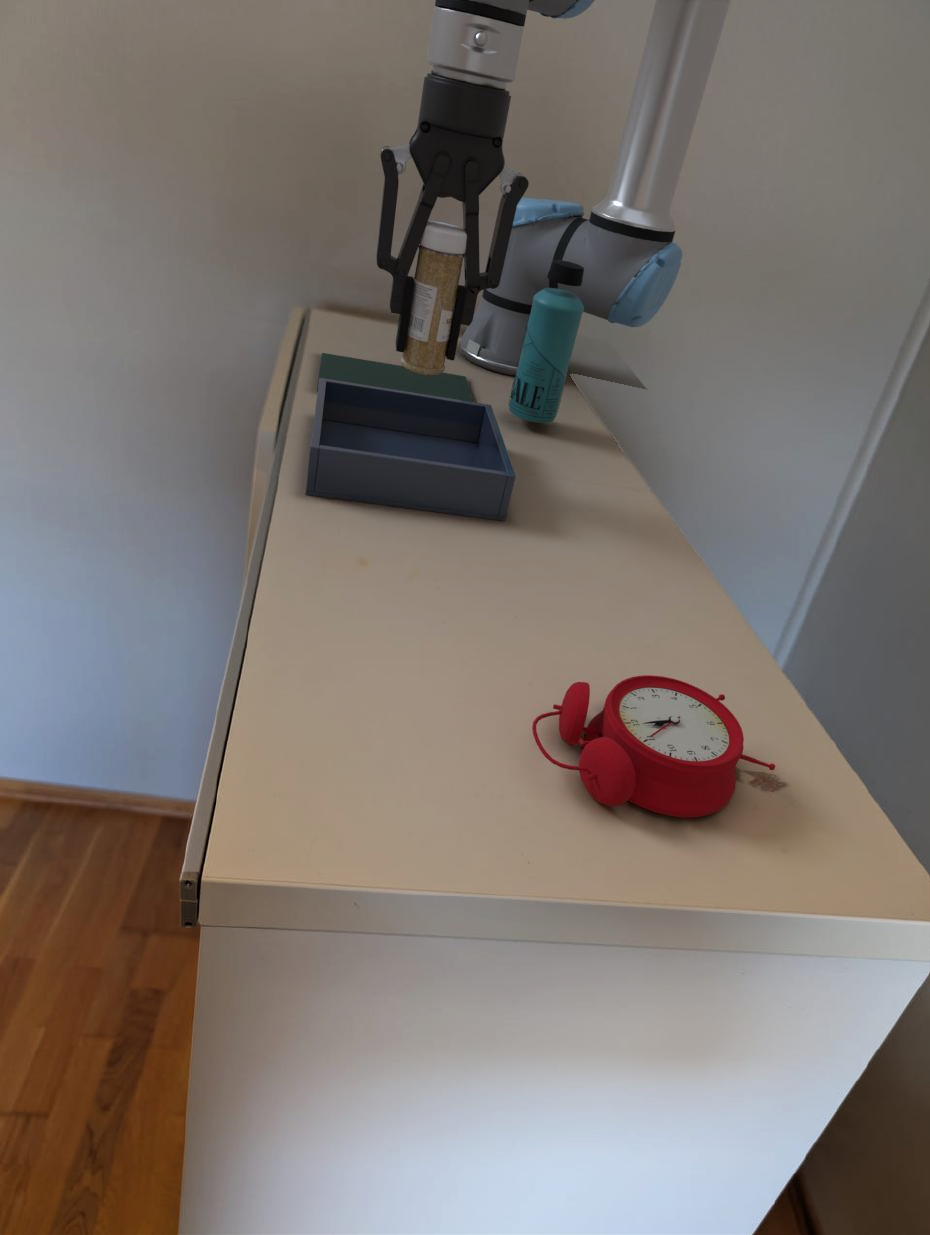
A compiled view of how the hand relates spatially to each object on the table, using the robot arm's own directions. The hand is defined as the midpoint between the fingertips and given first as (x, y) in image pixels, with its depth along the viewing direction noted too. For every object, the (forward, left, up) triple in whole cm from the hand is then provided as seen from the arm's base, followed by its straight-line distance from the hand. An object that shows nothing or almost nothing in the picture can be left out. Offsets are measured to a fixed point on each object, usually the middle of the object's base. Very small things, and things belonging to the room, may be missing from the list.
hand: (424, 351), depth 85 cm
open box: (0, 0, -12) cm, 12 cm away
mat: (0, -26, -12) cm, 29 cm away
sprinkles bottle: (0, 0, -2) cm, 2 cm away
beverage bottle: (-17, -19, -13) cm, 28 cm away
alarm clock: (-14, +44, -13) cm, 48 cm away
